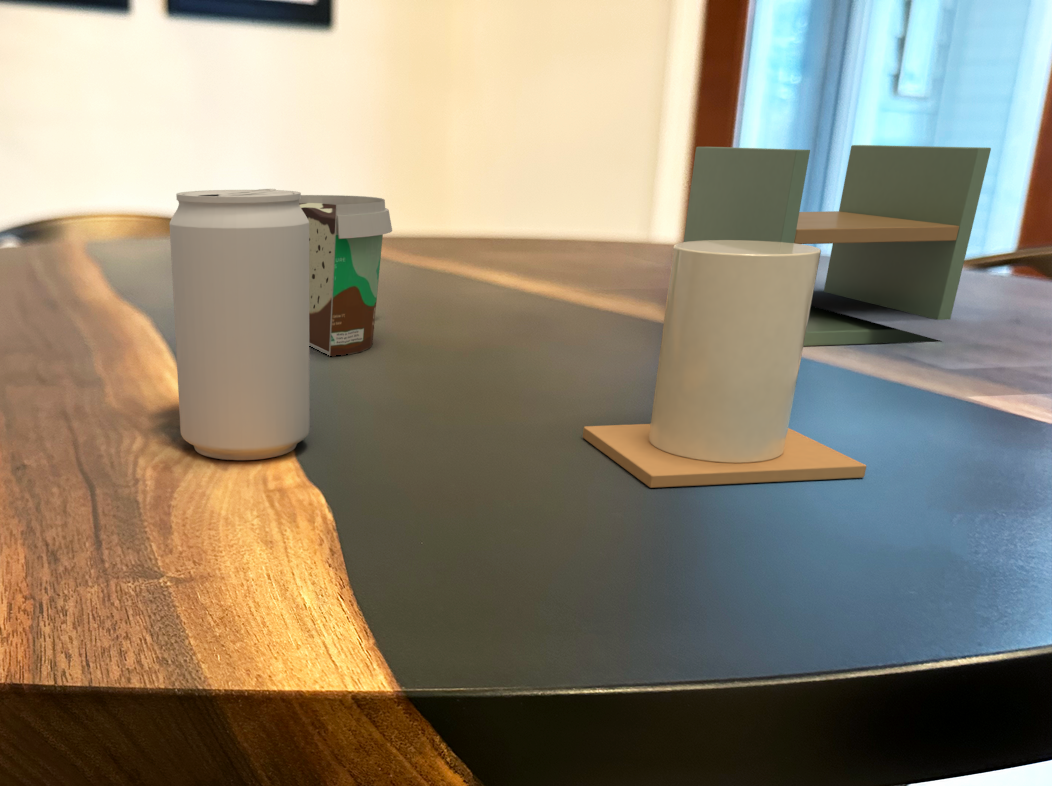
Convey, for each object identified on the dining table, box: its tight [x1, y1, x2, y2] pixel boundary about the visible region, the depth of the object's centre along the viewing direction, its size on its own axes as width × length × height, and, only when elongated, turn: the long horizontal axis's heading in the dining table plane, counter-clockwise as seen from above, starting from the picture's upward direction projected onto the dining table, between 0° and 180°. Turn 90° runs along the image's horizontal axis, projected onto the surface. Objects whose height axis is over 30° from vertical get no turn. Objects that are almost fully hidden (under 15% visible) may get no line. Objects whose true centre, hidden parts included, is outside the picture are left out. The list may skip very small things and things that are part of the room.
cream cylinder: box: [649, 240, 822, 463], centre depth 46 cm, size 6×6×9 cm
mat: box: [582, 423, 867, 489], centre depth 48 cm, size 10×8×1 cm
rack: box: [683, 144, 992, 347], centre depth 76 cm, size 14×14×13 cm
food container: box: [299, 194, 393, 357], centre depth 73 cm, size 12×6×10 cm, turn 22°
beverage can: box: [169, 188, 310, 461], centre depth 48 cm, size 6×6×12 cm
